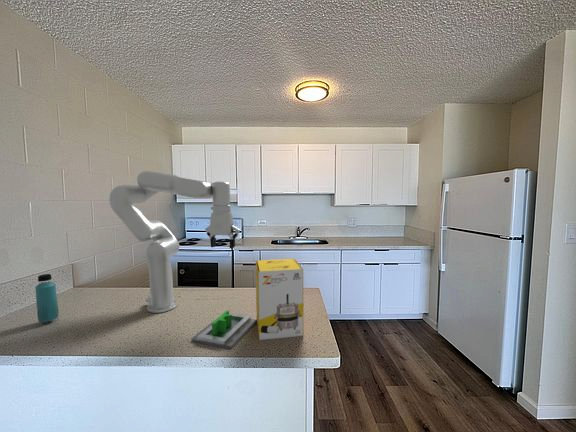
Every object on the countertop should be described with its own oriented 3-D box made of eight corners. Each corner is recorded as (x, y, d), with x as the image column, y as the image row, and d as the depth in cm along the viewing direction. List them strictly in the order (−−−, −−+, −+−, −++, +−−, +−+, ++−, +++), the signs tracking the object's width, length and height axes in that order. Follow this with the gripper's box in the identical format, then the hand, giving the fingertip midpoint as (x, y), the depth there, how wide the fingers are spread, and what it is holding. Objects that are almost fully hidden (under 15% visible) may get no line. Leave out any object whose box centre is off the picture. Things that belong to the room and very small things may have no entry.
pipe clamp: (221, 337, 95) (221, 324, 95) (212, 335, 96) (211, 323, 96) (235, 322, 106) (234, 311, 106) (226, 321, 107) (226, 310, 107)
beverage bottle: (62, 319, 112) (59, 273, 110) (44, 327, 105) (40, 277, 104) (52, 317, 114) (49, 271, 112) (33, 324, 108) (29, 276, 106)
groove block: (191, 341, 94) (191, 335, 94) (222, 316, 113) (222, 311, 113) (231, 349, 89) (230, 342, 89) (256, 322, 108) (256, 316, 108)
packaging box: (294, 316, 113) (294, 258, 112) (303, 335, 98) (303, 269, 96) (256, 319, 111) (255, 260, 109) (259, 340, 95) (258, 271, 93)
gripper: (200, 209, 118) (201, 247, 119) (234, 210, 112) (235, 250, 114) (210, 208, 125) (211, 244, 126) (243, 209, 119) (243, 246, 121)
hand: (222, 247), depth 120 cm, fingers open, 9 cm apart
